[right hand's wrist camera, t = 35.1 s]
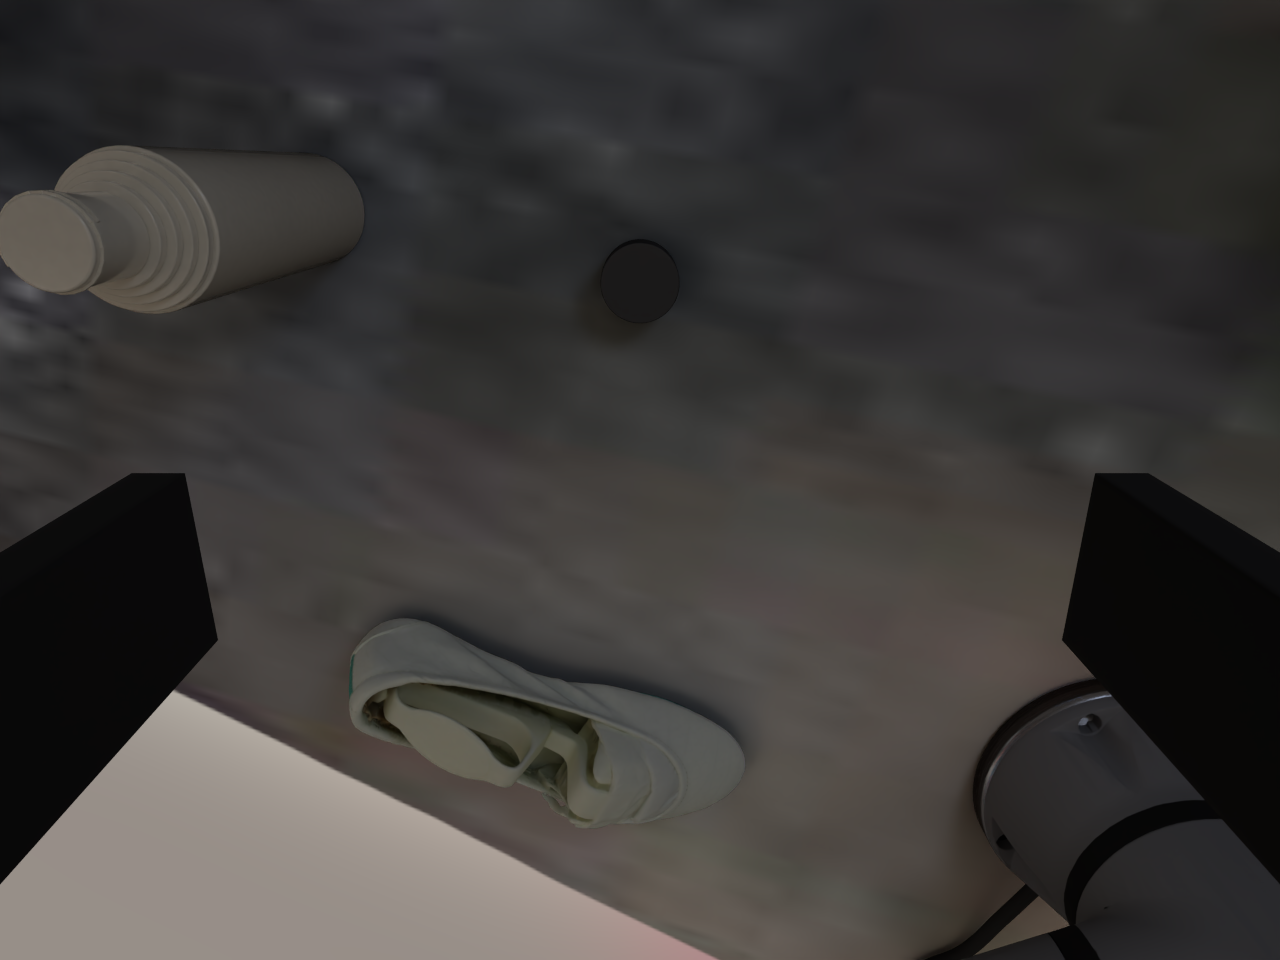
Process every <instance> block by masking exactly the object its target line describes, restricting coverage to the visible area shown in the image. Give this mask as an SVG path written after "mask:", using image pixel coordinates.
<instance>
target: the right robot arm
mask: <svg viewBox="0 0 1280 960" xmlns="http://www.w3.org/2000/svg"><path fill="white" fill-rule="evenodd" d="M217 641H218V638H217V633H216V628H215V623H214V618H213V613H212V608H211V603H210V598H209V593H208V588H207V583H206V578H205V573H204V568H203V563H202V558H201V552H200V547H199V542H198V537H197V532H196V527H195V522H194V517H193V512H192V507H191V502H190V497H189V492H188V487H187V482H186V477H185V473H131V474H130V475H128V476H126V477H125V478H123V479H121V480H120V481H118V482H116V483H115V484H113V485H111V486H110V487H108V488H106V489H105V490H103V491H101V492H100V493H98V494H97V495H95V496H93V497H92V498H90V499H88V500H87V501H85V502H83V503H82V504H80V505H78V506H77V507H75V508H73V509H72V510H70V511H68V512H67V513H65V514H63V515H62V516H60V517H58V518H57V519H55V520H53V521H52V522H50V523H48V524H47V525H45V526H43V527H42V528H40V529H39V530H37V531H35V532H34V533H32V534H30V535H29V536H27V537H25V538H24V539H22V540H20V541H19V542H17V543H15V544H14V545H12V546H10V547H9V548H7V549H5V550H4V551H2V552H0V884H1V883H2V882H3V881H4V879H5V878H6V877H7V876H8V875H9V874H10V873H11V872H12V870H13V869H14V868H15V867H16V866H17V865H18V864H19V863H20V862H21V860H22V859H23V858H24V857H25V856H26V855H27V854H28V852H29V851H30V850H31V849H32V848H33V847H34V846H35V845H36V844H37V842H38V841H39V840H40V839H41V838H42V837H43V836H44V835H45V833H46V832H47V831H48V830H49V829H50V828H51V827H52V826H53V824H54V823H55V822H56V821H57V820H58V819H59V818H60V817H61V816H62V814H63V813H64V812H65V811H66V810H67V809H68V808H69V807H70V805H71V804H72V803H73V802H74V801H75V800H76V799H77V797H78V796H79V795H80V794H81V793H82V792H83V791H84V790H85V789H86V787H87V786H88V785H89V784H90V783H91V782H92V781H93V780H94V778H95V777H96V776H97V775H98V774H99V773H100V772H101V771H102V770H103V768H104V767H105V766H106V765H107V764H108V763H109V762H110V761H111V759H112V758H113V757H114V756H115V755H116V754H117V753H118V752H119V750H120V749H121V748H122V747H123V746H124V745H125V744H126V743H127V741H128V740H129V739H130V738H131V737H132V736H133V735H134V734H135V733H136V731H137V730H138V729H139V728H140V727H141V726H142V725H143V724H144V722H145V721H146V720H147V719H148V718H149V717H150V716H151V715H152V713H153V712H154V711H155V710H156V709H157V708H158V707H159V706H160V704H161V703H162V702H163V701H164V700H165V699H166V698H167V697H168V696H169V694H170V693H171V692H172V691H173V690H174V689H175V688H176V687H177V685H178V684H179V683H180V682H181V681H182V680H183V679H184V678H185V676H186V675H187V674H188V673H189V672H190V671H191V670H192V669H193V667H194V666H195V665H196V664H197V663H198V662H199V661H200V660H201V658H202V657H203V656H204V655H205V654H206V653H207V652H208V651H209V650H210V648H211V647H212V646H213V645H214V644H215V643H216V642H217ZM1062 641H1063V642H1064V643H1065V644H1066V645H1067V646H1068V647H1069V648H1070V650H1071V651H1072V652H1073V653H1074V654H1075V655H1076V656H1077V657H1078V658H1079V660H1080V661H1081V662H1082V663H1083V664H1084V665H1085V666H1086V667H1087V669H1088V670H1089V671H1090V672H1091V673H1092V674H1093V675H1094V676H1095V678H1096V679H1094V680H1088V681H1083V682H1079V683H1075V684H1072V685H1069V686H1065V687H1063V688H1060V689H1058V690H1055V691H1053V692H1051V693H1048V694H1046V695H1044V696H1042V697H1040V698H1039V699H1037V700H1035V701H1033V702H1032V703H1030V704H1029V705H1027V706H1026V707H1024V708H1023V709H1021V710H1020V711H1019V712H1018V713H1016V714H1015V715H1014V716H1013V717H1012V718H1011V719H1009V720H1008V721H1007V722H1006V723H1005V724H1004V725H1003V726H1002V727H1001V729H1000V730H999V731H998V732H997V733H996V734H995V736H994V737H993V738H992V740H991V741H990V743H989V744H988V746H987V748H986V749H985V751H984V753H983V755H982V757H981V759H980V761H979V764H978V767H977V770H976V774H975V778H974V785H973V802H974V808H975V812H976V816H977V819H978V821H979V823H980V825H981V828H982V829H983V831H984V833H985V835H986V837H987V839H988V841H989V843H990V845H991V847H992V848H993V850H994V852H995V853H996V855H997V856H998V857H999V858H1000V860H1001V861H1002V862H1003V863H1004V864H1005V865H1006V866H1007V867H1008V868H1009V869H1010V870H1011V871H1012V872H1013V873H1014V874H1016V875H1017V876H1018V877H1019V878H1020V879H1021V880H1022V881H1023V882H1024V883H1025V885H1024V886H1023V887H1022V888H1021V889H1020V890H1019V891H1018V892H1017V893H1016V894H1015V895H1014V896H1013V897H1012V898H1011V899H1010V900H1008V901H1007V902H1006V903H1005V904H1004V905H1003V906H1002V907H1001V908H1000V909H999V910H998V911H997V912H996V913H995V914H993V915H992V916H991V917H990V918H989V919H988V920H987V921H986V922H985V923H984V924H983V925H982V926H981V927H980V928H979V929H978V930H977V931H976V932H975V933H974V934H973V935H972V936H971V937H969V938H968V939H967V940H966V941H964V942H963V943H962V944H960V945H959V946H957V947H955V948H953V949H951V950H949V951H947V952H944V953H941V954H938V955H935V956H933V957H930V958H927V959H925V960H1280V552H1278V551H1276V550H1275V549H1273V548H1271V547H1270V546H1268V545H1266V544H1265V543H1263V542H1261V541H1260V540H1258V539H1256V538H1255V537H1253V536H1251V535H1250V534H1248V533H1246V532H1245V531H1243V530H1241V529H1240V528H1238V527H1237V526H1235V525H1233V524H1232V523H1230V522H1228V521H1227V520H1225V519H1223V518H1222V517H1220V516H1218V515H1217V514H1215V513H1213V512H1212V511H1210V510H1208V509H1207V508H1205V507H1203V506H1202V505H1200V504H1198V503H1197V502H1195V501H1193V500H1192V499H1190V498H1188V497H1187V496H1185V495H1183V494H1182V493H1180V492H1178V491H1177V490H1175V489H1174V488H1172V487H1170V486H1169V485H1167V484H1165V483H1164V482H1162V481H1160V480H1159V479H1157V478H1155V477H1154V476H1152V475H1150V474H1149V473H1095V477H1094V482H1093V487H1092V492H1091V497H1090V502H1089V507H1088V512H1087V517H1086V522H1085V527H1084V532H1083V537H1082V542H1081V547H1080V552H1079V557H1078V563H1077V568H1076V573H1075V578H1074V583H1073V588H1072V593H1071V598H1070V603H1069V608H1068V613H1067V618H1066V623H1065V628H1064V633H1063V638H1062ZM1038 896H1040V897H1041V898H1042V899H1043V900H1044V901H1045V902H1046V903H1048V904H1049V905H1050V906H1051V907H1052V908H1053V909H1054V910H1055V911H1056V912H1057V913H1059V914H1060V915H1061V916H1062V917H1063V918H1064V919H1065V920H1066V921H1067V922H1068V923H1069V925H1070V926H1068V927H1065V928H1062V929H1059V930H1056V931H1053V932H1049V933H1045V934H1042V935H1039V936H1036V937H1032V938H1029V939H1026V940H1023V941H1019V942H1016V943H1013V944H1010V945H1006V946H1003V947H1000V948H997V949H994V950H990V951H987V952H984V953H981V954H977V955H974V954H976V953H977V952H978V951H980V950H981V949H982V948H983V947H984V946H985V945H987V944H988V943H989V942H990V941H991V940H992V939H993V938H994V937H995V936H996V935H997V934H998V933H999V932H1000V931H1001V930H1002V929H1003V928H1004V927H1005V926H1006V925H1007V924H1009V923H1010V922H1011V921H1012V920H1013V919H1014V918H1015V917H1016V916H1017V915H1018V914H1020V913H1021V912H1022V911H1023V910H1024V909H1025V908H1026V907H1027V906H1028V905H1029V904H1030V903H1031V902H1032V901H1034V900H1035V899H1036V898H1037V897H1038ZM973 955H974V956H973Z"/></svg>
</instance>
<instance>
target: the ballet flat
mask: <svg viewBox="0 0 1280 960" xmlns="http://www.w3.org/2000/svg"><path fill="white" fill-rule="evenodd" d="M349 699H350V701H349V712H350V716H351V720H352V722H353V724H354V726H355V727H356V728H357V729H358V730H360V731H361V732H363V733H365V734H367V735H369V736H372V737H375V738H378V739H380V740H383V741H387V742H390V743H392V744H398V745H402V746H405V747H408V748H413V749H416V750H417V751H418V752H419V753H420V754H421V755H422V756H424V757H425V758H426V759H428V760H429V761H430V762H432V763H433V764H435V765H436V766H438V767H440V768H441V769H443V770H445V771H448V772H450V773H452V774H454V775H457V776H460V777H463V778H467V779H473V780H481V781H486V782H489V783H492V784H494V785H496V786H499V787H503V788H507V787H511V786H512V785H513V784H514V783H515V782H517V783H519V784H522V785H524V786H527V787H529V788H532V789H534V790H537V791H539V792H542V793H544V794H542V796H543V798H544V799H545V800H546V801H547V802H548V804H549V807H550V808H551V809H552V810H553V811H554V812H556V813H557V814H559V815H561V816H564V817H566V818H568V820H569V821H570V822H571V823H573V824H574V825H575V826H576V827H579V828H592V829H596V828H601V827H604V826H607V825H609V824H641V823H647V822H651V821H654V820H658V819H669V818H674V817H677V816H682V815H685V814H689V813H692V812H695V811H699V810H701V809H704V808H707V807H709V806H711V805H713V804H714V803H716V802H718V801H720V800H722V799H723V798H725V797H726V796H727V795H728V794H729V793H730V792H731V791H732V790H734V788H735V787H736V786H737V785H738V783H739V782H740V780H741V778H742V776H743V774H744V772H745V767H746V766H745V757H744V753H743V751H742V749H741V747H740V745H739V744H738V742H737V741H736V740H735V738H734V737H733V736H732V735H731V734H730V733H729V732H728V731H726V730H725V729H723V728H722V727H720V726H719V725H717V724H716V723H714V722H713V721H711V720H709V719H707V718H706V717H704V716H702V715H700V714H697V713H695V712H694V711H692V710H690V709H688V708H685V707H683V706H681V705H679V704H677V703H674V702H672V701H669V700H666V699H663V698H660V697H657V696H653V695H649V694H645V693H639V692H635V691H631V690H627V689H623V688H619V687H614V686H609V685H604V684H592V683H578V682H566V681H564V680H561V679H559V678H550V677H547V676H543V675H538V674H535V673H532V672H529V671H527V670H525V669H524V668H522V667H521V666H519V665H517V664H515V663H513V662H510V661H508V660H506V659H503V658H500V657H498V656H495V655H493V654H490V653H488V652H485V651H483V650H481V649H479V648H477V647H475V646H473V645H472V644H470V643H468V642H466V641H464V640H462V639H461V638H459V637H456V636H454V635H452V634H451V633H449V632H447V631H446V630H444V629H442V628H440V627H438V626H436V625H433V624H431V623H429V622H426V621H421V620H417V619H411V618H398V619H392V620H388V621H385V622H383V623H381V624H379V625H377V626H376V627H374V628H373V629H372V630H370V631H369V632H368V633H367V634H366V635H365V637H364V638H363V639H362V640H361V641H360V643H359V644H358V645H357V647H356V648H355V650H354V652H353V654H352V656H351V660H350V683H349ZM547 795H549V796H547ZM553 797H554V798H556V799H558V800H561V801H563V802H565V804H566V806H562V807H561V806H560V805H559V803H558V802H557V801H556V800H555V799H554V798H553Z"/></svg>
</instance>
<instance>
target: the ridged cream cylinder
mask: <svg viewBox="0 0 1280 960" xmlns="http://www.w3.org/2000/svg"><path fill="white" fill-rule="evenodd" d="M364 216H365V214H364V205H363V201H362V197H361V195H360V192H359V190H358V188H357V186H356V184H355V183H354V181H353V179H352V178H351V177H350V176H349V174H348V173H347V172H346V171H345V170H344V169H343V168H342V167H340V166H339V165H338V164H336V163H335V162H333V161H332V160H330V159H328V158H326V157H323V156H320V155H317V154H312V153H298V152H274V151H250V150H226V149H202V148H178V147H154V146H130V145H114V146H106V147H103V148H99V149H96V150H94V151H91V152H89V153H87V154H86V155H84V156H83V157H81V158H80V159H78V160H77V161H76V162H74V163H73V164H72V165H71V166H70V167H69V168H68V169H67V170H66V171H65V172H64V173H63V175H62V176H61V177H60V179H59V181H58V183H57V185H56V187H55V189H54V190H36V191H26V192H24V193H21V194H18V195H15V196H14V197H13V198H12V199H11V200H9V201H8V202H7V203H5V205H4V207H3V209H2V210H1V212H0V255H1V257H2V259H3V260H4V262H5V264H6V265H7V267H10V268H11V269H12V271H13V272H14V273H15V274H16V275H17V276H18V277H20V278H21V279H22V280H23V281H25V282H26V283H28V284H29V285H31V286H33V287H35V288H38V289H40V290H43V291H47V292H51V293H56V294H61V295H67V294H77V293H80V292H82V291H85V290H87V289H88V290H89V291H90V292H92V293H93V294H94V295H96V296H97V297H99V298H100V299H102V300H104V301H106V302H108V303H110V304H112V305H115V306H117V307H120V308H124V309H127V310H130V311H134V312H138V313H145V314H163V313H169V312H173V311H177V310H180V309H184V308H187V307H190V306H193V305H196V304H200V303H203V302H206V301H209V300H213V299H216V298H219V297H222V296H225V295H229V294H232V293H235V292H238V291H241V290H245V289H248V288H251V287H254V286H258V285H261V284H264V283H267V282H270V281H274V280H277V279H280V278H283V277H287V276H290V275H293V274H296V273H299V272H303V271H306V270H309V269H312V268H316V267H319V266H322V265H325V264H328V263H332V262H334V261H337V260H339V259H341V258H343V257H344V256H346V255H347V254H348V253H349V252H350V251H351V250H352V249H353V248H354V247H355V245H356V244H357V242H358V241H359V239H360V236H361V234H362V231H363V226H364Z"/></svg>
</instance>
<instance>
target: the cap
mask: <svg viewBox="0 0 1280 960" xmlns="http://www.w3.org/2000/svg"><path fill="white" fill-rule="evenodd" d="M601 291H602V295H603V298H604V300H605V302H606V304H607V306H608V307H609V308H610V309H611V311H612V312H613V313H615V314H616V315H617V316H618V317H620V318H622V319H624V320H626V321H629V322H634V323H647V322H651V321H654V320H656V319H658V318H660V317H662V316H663V315H664V314H666V313H667V312H668V311H669V310H670V308H671V307H672V306H673V304H674V302H675V300H676V298H677V295H678V292H679V275H678V271H677V268H676V265H675V262H674V260H673V258H672V257H671V255H670V254H669V253H668V252H667V250H666V249H664V248H663V247H662V246H660V245H659V244H657V243H655V242H652V241H649V240H644V239H637V240H631V241H628V242H625V243H623V244H621V245H620V246H618V247H617V248H616V249H615V250H614V251H613V252H612V253H611V254H610V255H609V257H608V259H607V260H606V263H605V265H604V268H603V271H602V275H601Z"/></svg>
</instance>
